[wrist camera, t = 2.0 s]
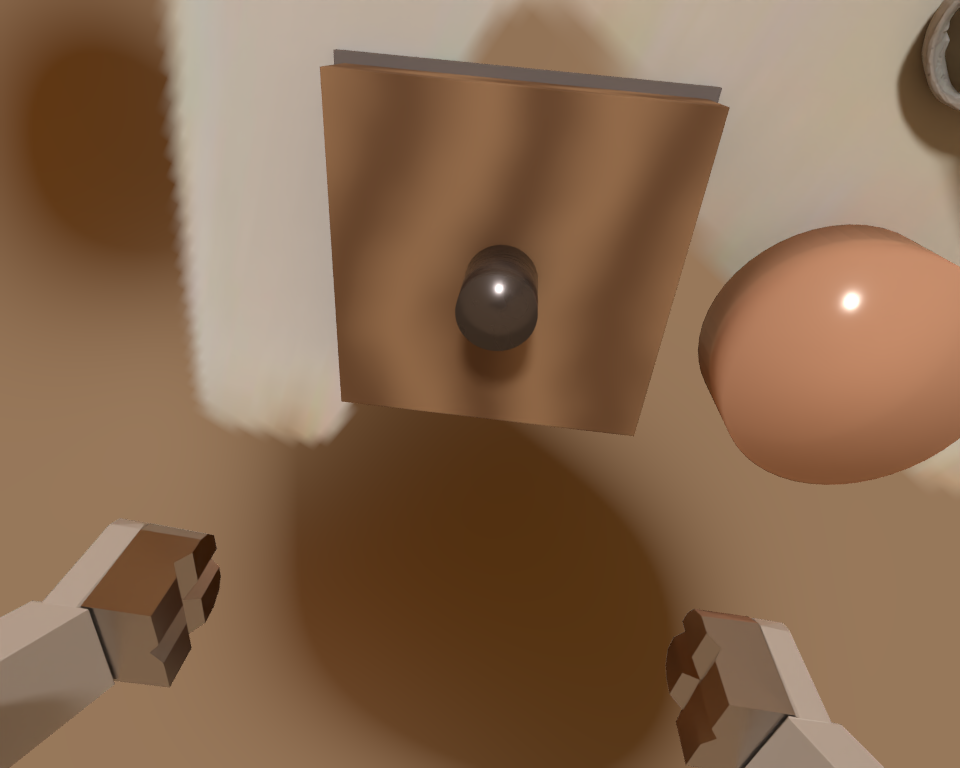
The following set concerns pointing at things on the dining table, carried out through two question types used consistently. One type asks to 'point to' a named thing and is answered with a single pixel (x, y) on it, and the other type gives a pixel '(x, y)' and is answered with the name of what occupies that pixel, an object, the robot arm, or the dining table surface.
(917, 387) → the bowl
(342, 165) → the lid
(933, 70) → the ceramic mug
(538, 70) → the mat
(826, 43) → the dining table surface
